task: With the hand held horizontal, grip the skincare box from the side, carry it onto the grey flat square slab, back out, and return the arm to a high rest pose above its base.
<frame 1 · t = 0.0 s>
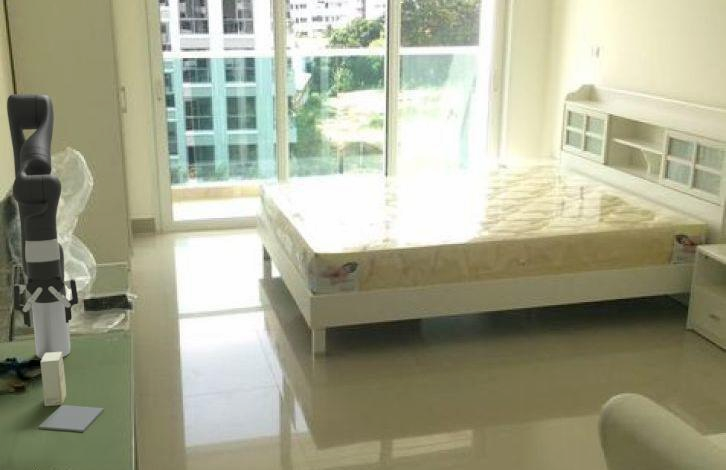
hand: (48, 324, 181), 22 cm above the table, tool pointing down, fingers open, 8 cm apart
skincare box: (55, 401, 191), on the table
grey flat square slab: (72, 418, 182), on the table
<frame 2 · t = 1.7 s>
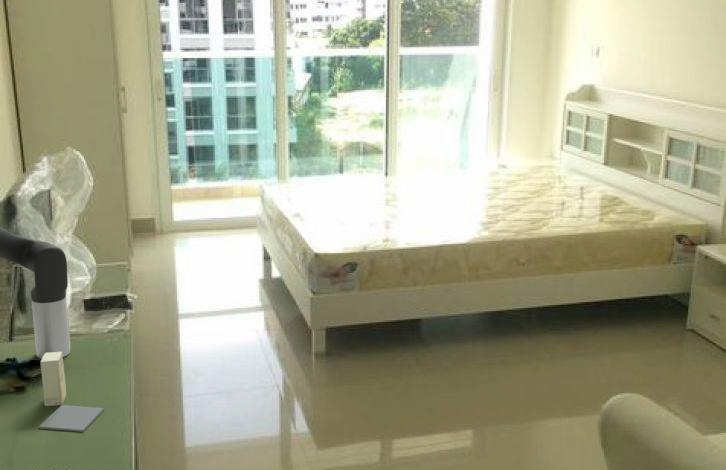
nothing on the table moved.
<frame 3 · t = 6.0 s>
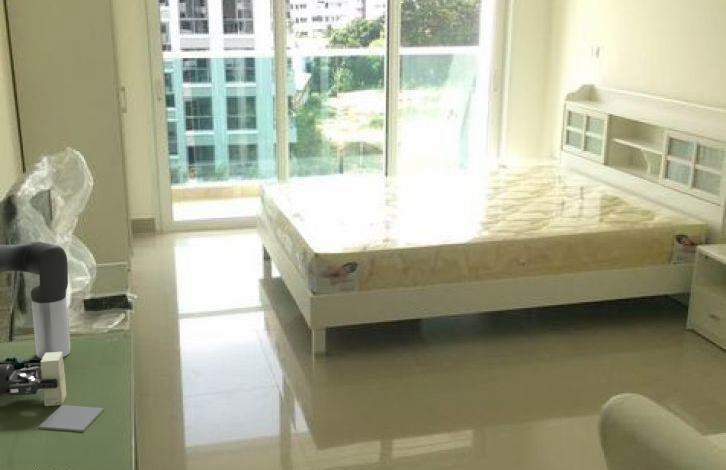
hand: (61, 377, 189), 7 cm above the table, tool horizontal, fingers open, 7 cm apart
skincare box: (55, 401, 191), on the table, touching gripper
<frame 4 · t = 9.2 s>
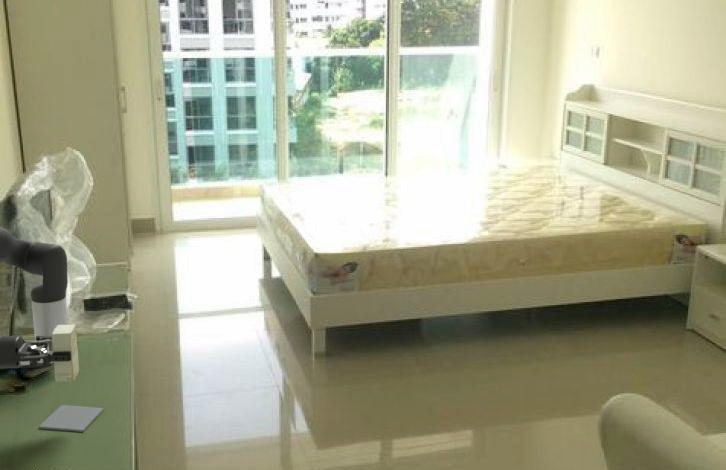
hand: (74, 350, 178), 18 cm above the table, tool horizontal, fingers closed on skincare box, 6 cm apart
skincare box: (67, 376, 180), point 11 cm above the table, touching gripper
when the fingers open (8 cm above the table, at t = 12.2 s): skincare box stays where it is, resting on grey flat square slab.
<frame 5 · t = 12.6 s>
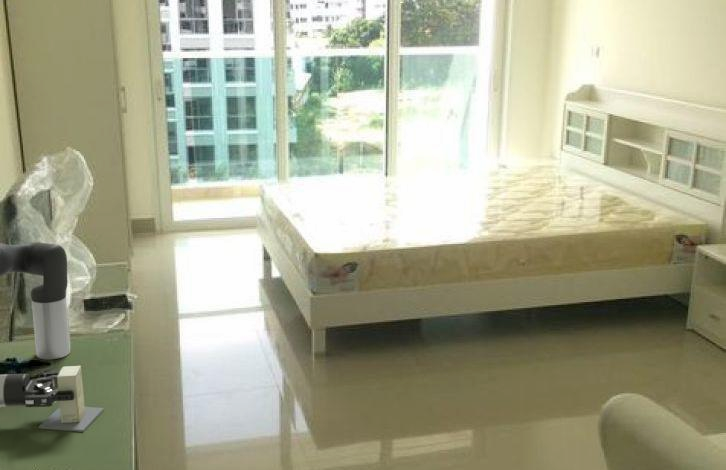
hand: (78, 387, 180), 8 cm above the table, tool horizontal, fingers open, 8 cm apart
skincare box: (73, 417, 182), resting on grey flat square slab
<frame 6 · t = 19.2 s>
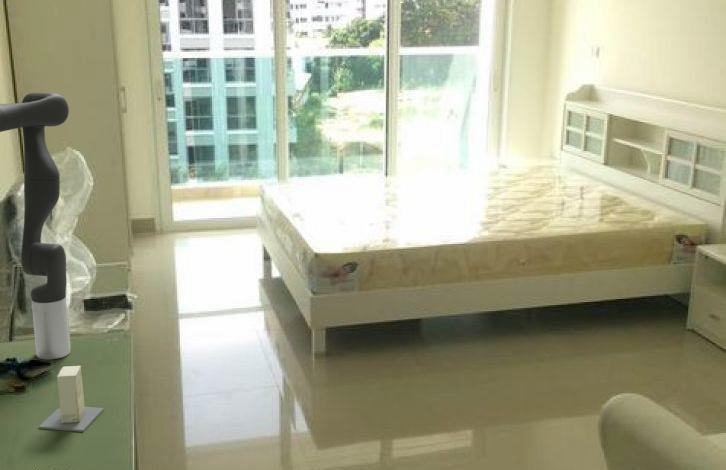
nothing on the table moved.
at the end: skincare box 0.2 cm from the grey flat square slab (horizontally); skincare box tilted 0°; the gripper is holding nothing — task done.
